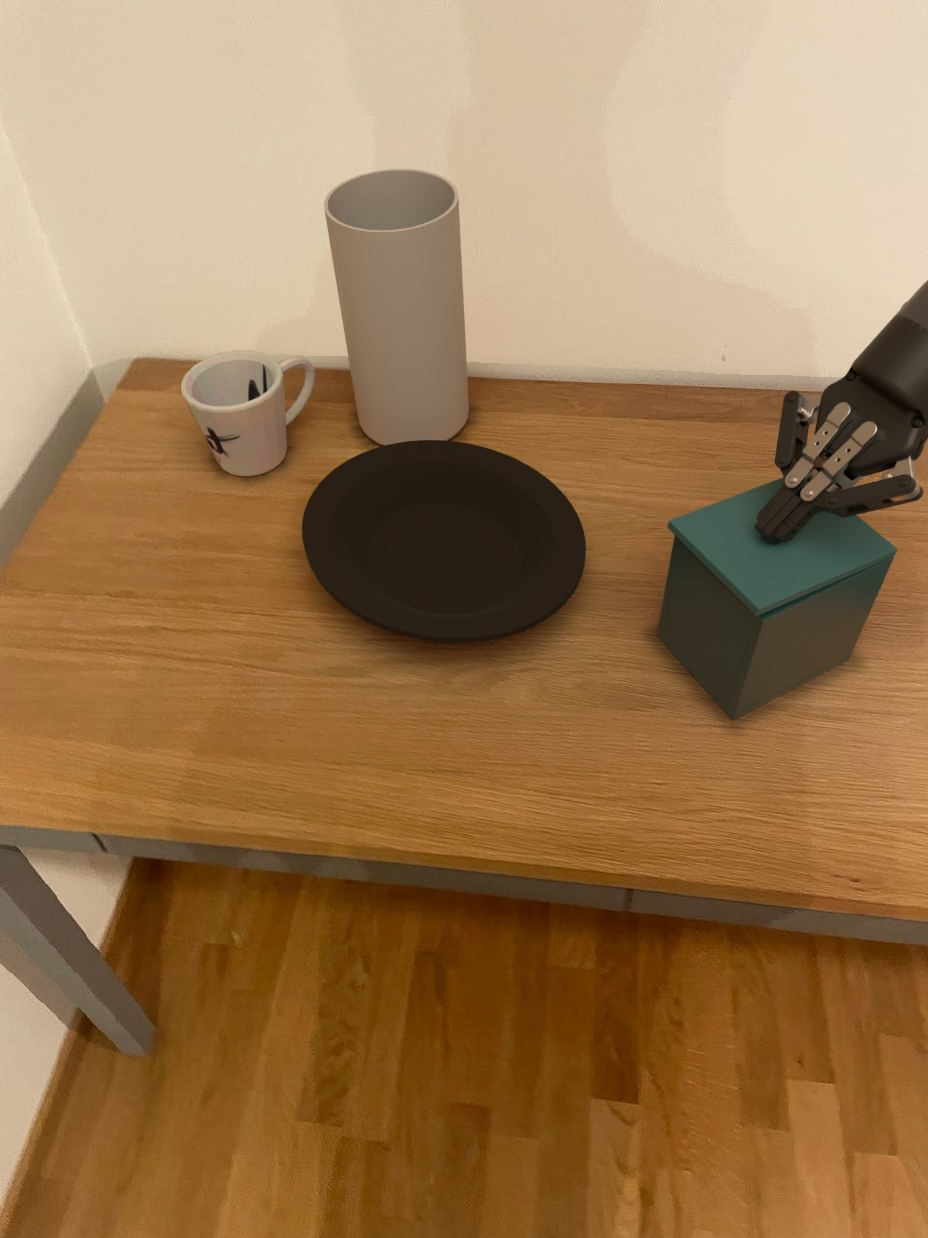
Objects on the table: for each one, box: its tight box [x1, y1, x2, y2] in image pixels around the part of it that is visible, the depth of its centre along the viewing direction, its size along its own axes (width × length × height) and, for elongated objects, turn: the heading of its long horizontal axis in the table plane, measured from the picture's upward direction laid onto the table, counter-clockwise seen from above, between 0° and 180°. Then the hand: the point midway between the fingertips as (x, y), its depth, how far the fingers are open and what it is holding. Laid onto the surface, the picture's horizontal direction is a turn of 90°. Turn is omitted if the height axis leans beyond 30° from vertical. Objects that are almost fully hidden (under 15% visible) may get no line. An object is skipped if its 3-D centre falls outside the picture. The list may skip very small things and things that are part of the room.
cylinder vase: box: [323, 168, 470, 446], centre depth 95 cm, size 12×12×25 cm
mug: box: [180, 350, 316, 477], centre depth 99 cm, size 10×15×10 cm
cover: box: [667, 476, 898, 616], centre depth 71 cm, size 14×11×1 cm
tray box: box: [656, 535, 895, 721], centre depth 77 cm, size 13×11×13 cm
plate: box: [301, 440, 587, 645], centre depth 87 cm, size 28×24×6 cm
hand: (765, 536), depth 70 cm, fingers closed
